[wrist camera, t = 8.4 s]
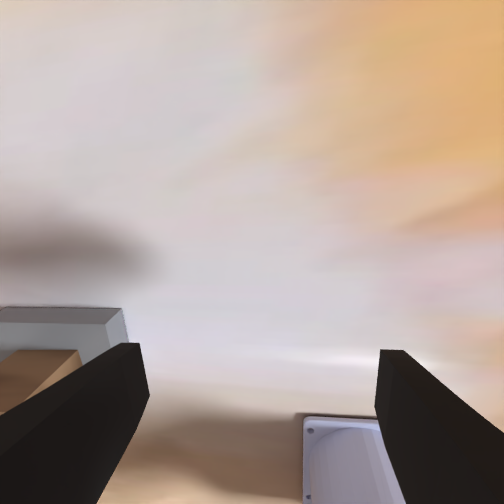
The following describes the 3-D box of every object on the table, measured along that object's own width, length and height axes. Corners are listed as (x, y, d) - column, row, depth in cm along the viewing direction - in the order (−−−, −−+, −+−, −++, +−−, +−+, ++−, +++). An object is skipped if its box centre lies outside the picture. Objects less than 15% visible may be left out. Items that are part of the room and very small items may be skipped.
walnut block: (94, 403, 21) (39, 475, 16) (37, 401, 22) (-32, 471, 17) (77, 349, 20) (11, 412, 15) (17, 349, 20) (-65, 410, 15)
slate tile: (143, 409, 23) (130, 432, 22) (39, 403, 24) (19, 424, 23) (121, 308, 21) (105, 324, 19) (5, 307, 22) (-21, 321, 20)
